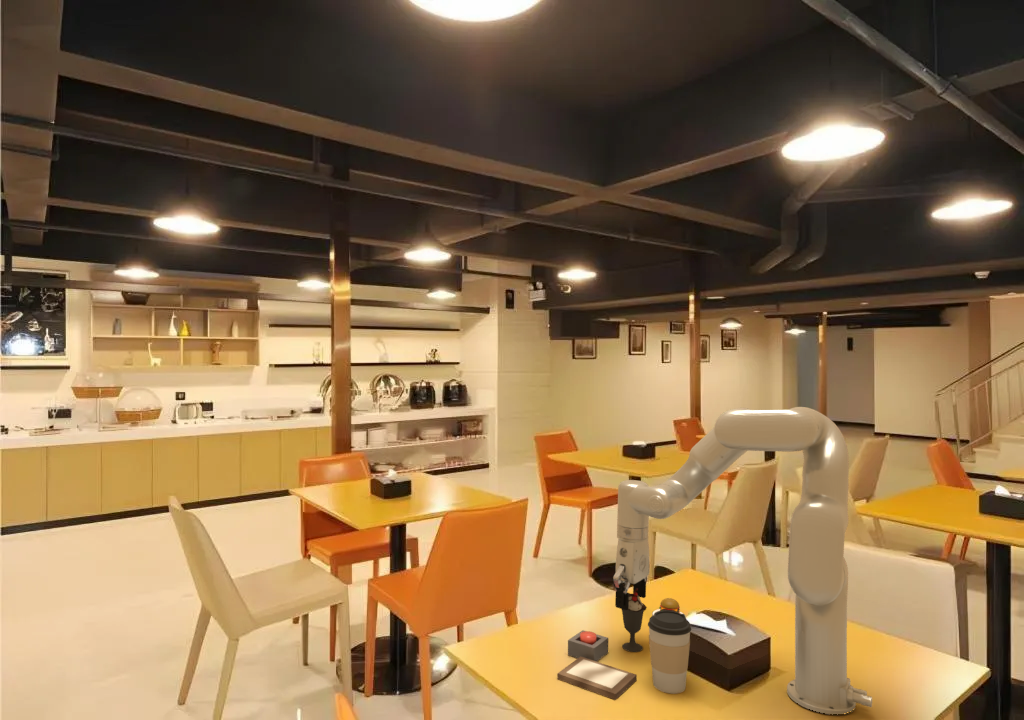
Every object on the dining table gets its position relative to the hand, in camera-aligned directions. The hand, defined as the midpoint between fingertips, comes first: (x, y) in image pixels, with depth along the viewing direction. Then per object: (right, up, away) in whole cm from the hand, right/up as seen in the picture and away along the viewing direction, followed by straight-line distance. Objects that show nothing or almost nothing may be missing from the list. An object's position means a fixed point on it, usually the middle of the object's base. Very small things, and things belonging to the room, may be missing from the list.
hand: (630, 602), depth 149 cm
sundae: (0, -11, 0) cm, 11 cm away
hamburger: (+14, -12, +19) cm, 26 cm away
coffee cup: (+5, -11, -18) cm, 22 cm away
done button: (-11, -8, -4) cm, 14 cm away
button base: (-11, -11, -4) cm, 16 cm away
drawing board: (-11, -10, -16) cm, 22 cm away
